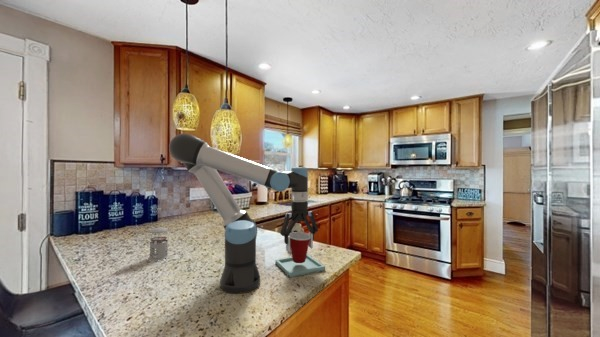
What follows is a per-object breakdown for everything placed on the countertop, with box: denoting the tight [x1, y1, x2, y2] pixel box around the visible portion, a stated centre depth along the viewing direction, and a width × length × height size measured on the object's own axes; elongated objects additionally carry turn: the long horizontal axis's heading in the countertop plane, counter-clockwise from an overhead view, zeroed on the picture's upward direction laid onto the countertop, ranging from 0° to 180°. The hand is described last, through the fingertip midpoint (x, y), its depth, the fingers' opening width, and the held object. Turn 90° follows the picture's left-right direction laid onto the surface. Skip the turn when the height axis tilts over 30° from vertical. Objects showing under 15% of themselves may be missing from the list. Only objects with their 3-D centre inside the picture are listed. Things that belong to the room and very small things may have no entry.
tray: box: [274, 253, 326, 279], centre depth 111 cm, size 17×17×2 cm
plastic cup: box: [289, 231, 311, 263], centre depth 111 cm, size 11×11×12 cm
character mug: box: [287, 222, 305, 248], centre depth 139 cm, size 11×7×13 cm, turn 66°
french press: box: [147, 207, 170, 262], centre depth 122 cm, size 10×12×25 cm
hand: (299, 248), depth 111 cm, fingers closed on plastic cup, 11 cm apart
